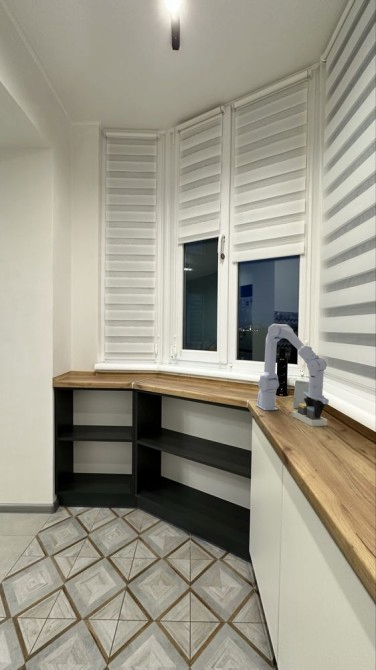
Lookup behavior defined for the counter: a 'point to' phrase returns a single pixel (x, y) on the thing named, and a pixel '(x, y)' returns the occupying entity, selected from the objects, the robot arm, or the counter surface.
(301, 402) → the skincare box
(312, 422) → the rack
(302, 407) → the ochre plug
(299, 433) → the counter surface
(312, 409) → the blue plug
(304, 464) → the counter surface
